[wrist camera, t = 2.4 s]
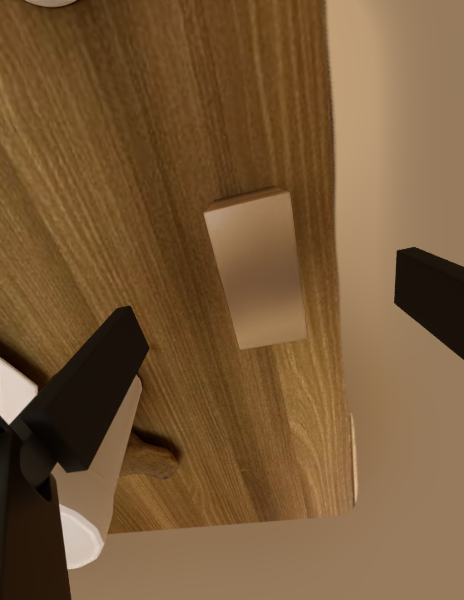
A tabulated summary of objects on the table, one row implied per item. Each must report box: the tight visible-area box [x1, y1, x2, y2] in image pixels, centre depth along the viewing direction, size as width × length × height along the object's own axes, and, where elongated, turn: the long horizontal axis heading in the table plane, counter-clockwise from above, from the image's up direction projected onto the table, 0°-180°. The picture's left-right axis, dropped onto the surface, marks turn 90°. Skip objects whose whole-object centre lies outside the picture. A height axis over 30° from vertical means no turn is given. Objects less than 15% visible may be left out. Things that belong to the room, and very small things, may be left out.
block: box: [203, 186, 308, 350], centre depth 18 cm, size 9×4×6 cm, turn 13°
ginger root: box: [119, 432, 179, 479], centre depth 31 cm, size 10×10×4 cm
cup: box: [51, 375, 142, 569], centre depth 21 cm, size 10×10×13 cm
